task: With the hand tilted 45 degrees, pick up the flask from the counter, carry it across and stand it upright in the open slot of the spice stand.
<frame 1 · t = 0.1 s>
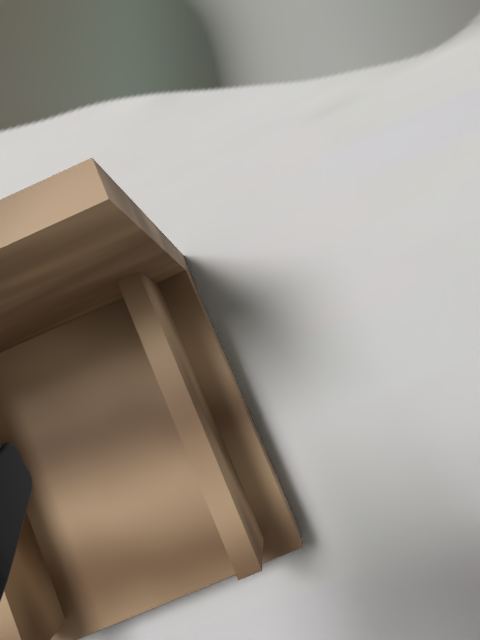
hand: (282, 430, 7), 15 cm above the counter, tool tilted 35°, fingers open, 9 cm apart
spice stand: (117, 452, 22), on the counter
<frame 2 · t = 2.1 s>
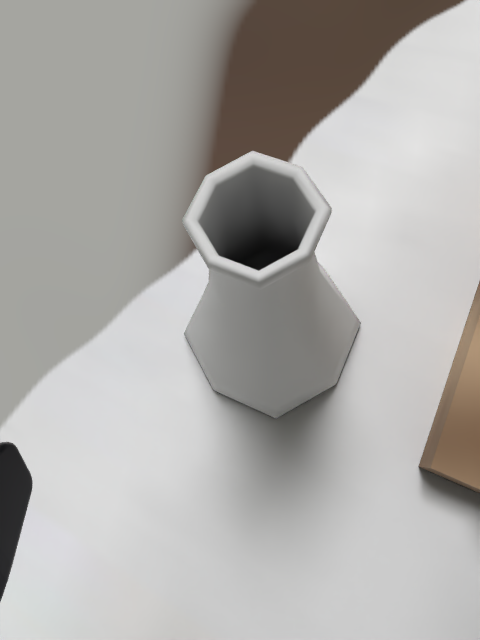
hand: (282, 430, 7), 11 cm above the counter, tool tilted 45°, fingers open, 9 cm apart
flask: (271, 331, 20), on the counter
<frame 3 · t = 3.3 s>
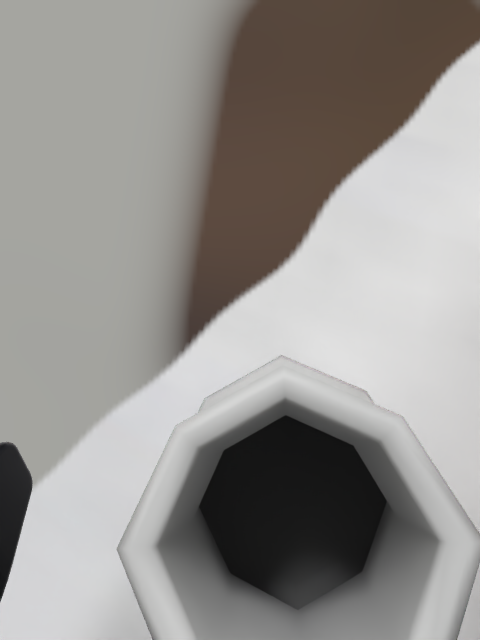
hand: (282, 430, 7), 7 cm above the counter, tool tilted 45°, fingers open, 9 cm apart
flask: (289, 479, 14), on the counter
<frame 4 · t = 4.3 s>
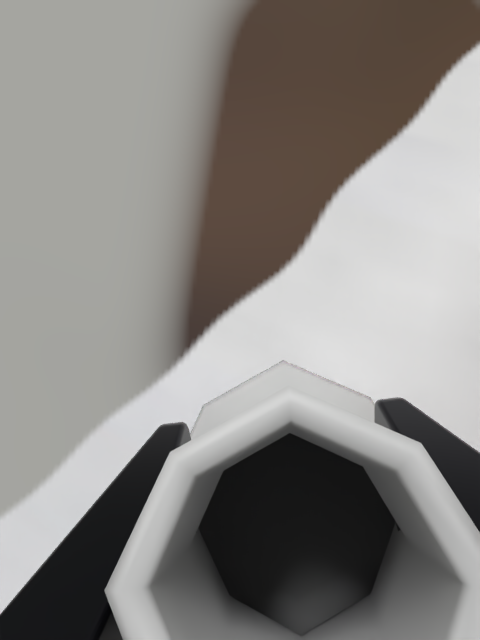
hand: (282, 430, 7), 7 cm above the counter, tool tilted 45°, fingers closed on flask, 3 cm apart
flask: (290, 488, 13), on the counter, touching gripper
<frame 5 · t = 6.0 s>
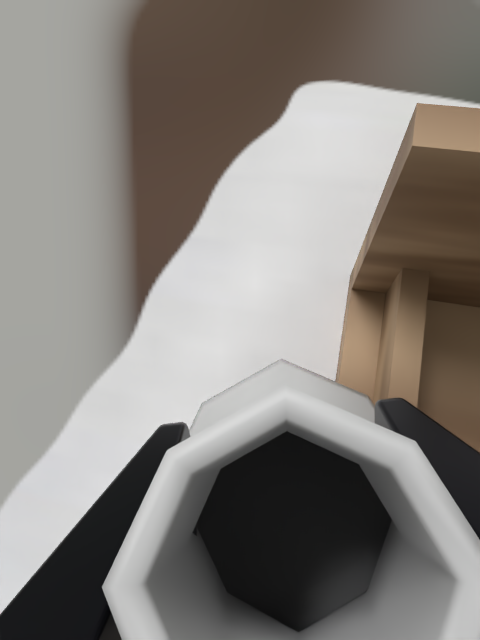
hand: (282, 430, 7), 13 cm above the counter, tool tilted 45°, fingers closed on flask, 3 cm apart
flask: (289, 486, 13), point 6 cm above the counter, touching gripper
when the fingers open (9 cm above the counter, at t = 7.8 s): flask drops 1 cm, resting on spice stand.
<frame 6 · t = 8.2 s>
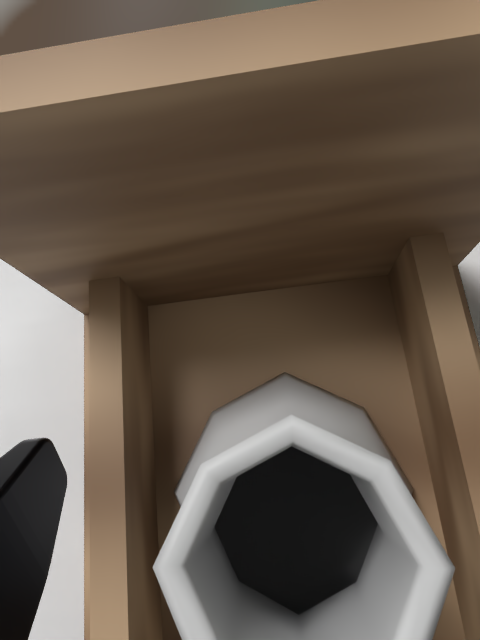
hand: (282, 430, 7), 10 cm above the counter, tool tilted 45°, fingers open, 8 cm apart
spice stand: (289, 480, 16), on the counter
flask: (290, 489, 15), point 1 cm above the counter, touching spice stand
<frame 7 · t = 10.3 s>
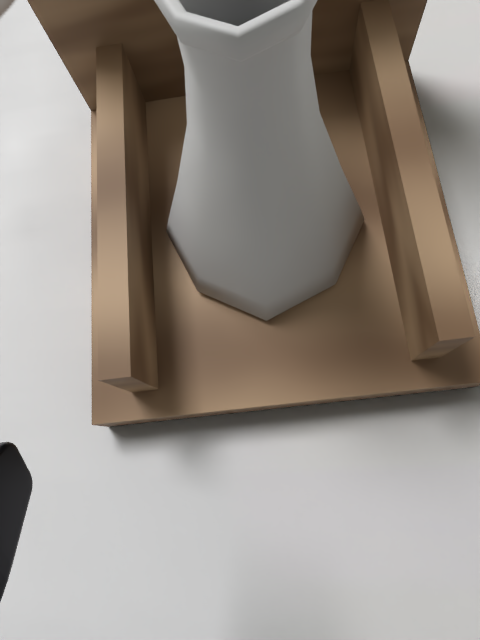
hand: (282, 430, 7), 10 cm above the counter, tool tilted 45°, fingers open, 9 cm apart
spice stand: (265, 241, 19), on the counter
flask: (264, 231, 18), point 1 cm above the counter, touching spice stand
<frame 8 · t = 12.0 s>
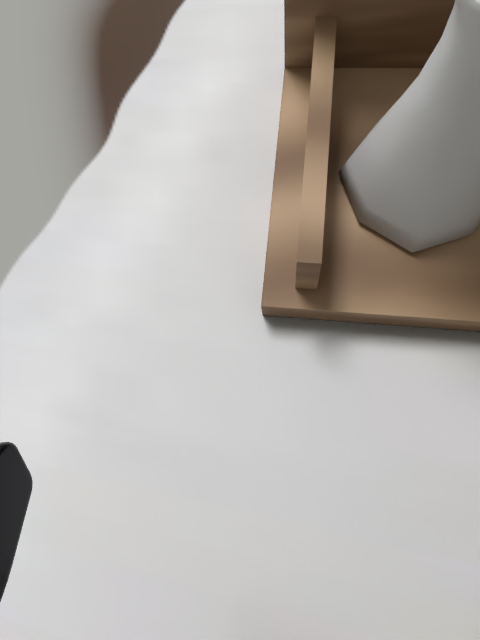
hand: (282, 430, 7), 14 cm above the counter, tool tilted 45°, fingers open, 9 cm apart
spice stand: (409, 196, 23), on the counter
flask: (416, 185, 22), point 1 cm above the counter, touching spice stand
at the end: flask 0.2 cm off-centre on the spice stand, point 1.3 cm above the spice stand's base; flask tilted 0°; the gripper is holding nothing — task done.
